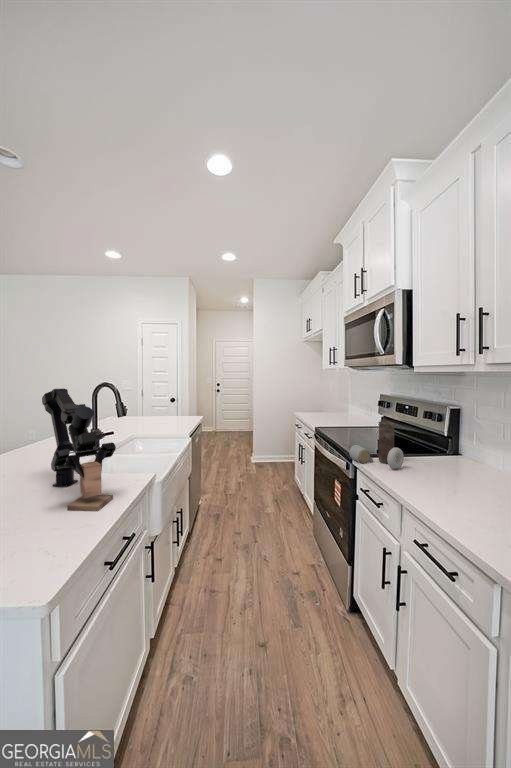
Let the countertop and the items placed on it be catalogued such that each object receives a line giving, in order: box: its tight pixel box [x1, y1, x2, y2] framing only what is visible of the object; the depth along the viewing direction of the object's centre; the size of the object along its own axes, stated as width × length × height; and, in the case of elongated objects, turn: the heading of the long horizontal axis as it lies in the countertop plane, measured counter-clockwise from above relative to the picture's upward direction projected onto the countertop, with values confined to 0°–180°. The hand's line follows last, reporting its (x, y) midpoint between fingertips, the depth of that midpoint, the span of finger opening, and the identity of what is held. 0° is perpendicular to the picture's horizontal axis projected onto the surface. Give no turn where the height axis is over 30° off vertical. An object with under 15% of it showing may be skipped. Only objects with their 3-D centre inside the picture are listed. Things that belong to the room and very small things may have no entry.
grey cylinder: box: [348, 444, 374, 464], centre depth 164 cm, size 11×8×8 cm
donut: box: [387, 446, 405, 470], centre depth 151 cm, size 10×4×10 cm, turn 124°
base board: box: [66, 494, 114, 512], centre depth 110 cm, size 10×10×2 cm
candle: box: [378, 421, 395, 464], centre depth 163 cm, size 8×7×20 cm
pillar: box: [79, 460, 102, 498], centre depth 109 cm, size 5×5×10 cm
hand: (92, 475), depth 108 cm, fingers closed on pillar, 5 cm apart
